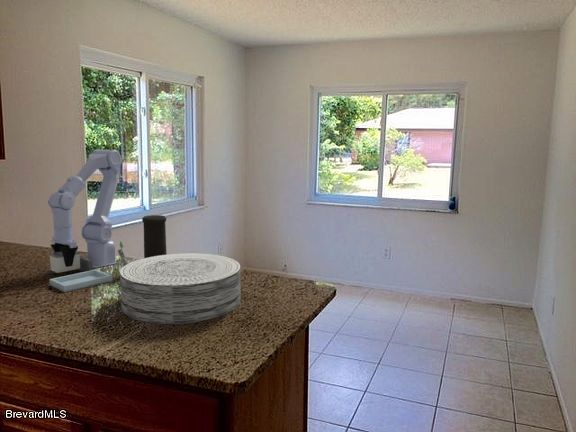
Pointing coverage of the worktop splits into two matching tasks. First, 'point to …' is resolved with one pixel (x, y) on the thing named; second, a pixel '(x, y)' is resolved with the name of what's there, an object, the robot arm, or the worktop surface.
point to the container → (154, 235)
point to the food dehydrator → (179, 287)
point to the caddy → (59, 263)
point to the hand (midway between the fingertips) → (65, 264)
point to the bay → (84, 266)
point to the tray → (80, 280)
